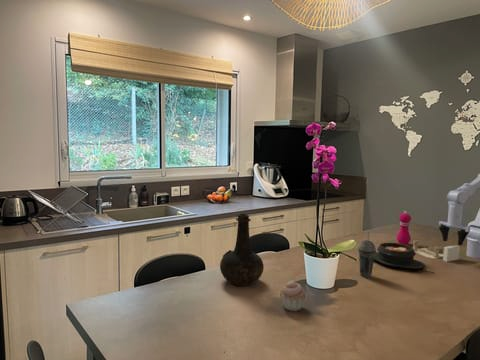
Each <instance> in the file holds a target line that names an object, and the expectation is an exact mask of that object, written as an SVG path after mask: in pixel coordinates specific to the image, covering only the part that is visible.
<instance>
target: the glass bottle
mask: <svg viewBox="0 0 480 360" xmlns="http://www.w3.org/2000/svg"><path fill="white" fill-rule="evenodd" d="M249 217H250V215H249V214H245V213H240V214H237V218H235V220H236V221H237V229H236V240H235V246H234V249H233V250H231V249H230V250H228V251H226V252H225V253H224V254H223V255H222V258H221V260H220V263H219V269H220V270H219V271H220V273H221V275H222V277H223V278H224V279H225V280H226V281H227V282H228V283H229V284H231V285H234V286H238V287H240V286H243V287H246V286H249V285H252V284H255V282H257V281H258V280H259V279H260V278H261V276H262V274H263V273H264V262H263V260H262V258H261V256H260V255H258V254H257V253H256V252H254V251H253V249H252V245H251V239H250V223H249V222H251V221H252V219H251V218H249Z"/></svg>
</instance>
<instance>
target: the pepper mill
mask: <svg viewBox="0 0 480 360" xmlns="http://www.w3.org/2000/svg"><path fill="white" fill-rule="evenodd" d="M398 220H399V226H400V228H399V231H398V233H397V235H396V240H397V242H396V243H399V244H404V245H408V246H410V242H411V240H412V238H411V234H410V232H409V226H410V222H411V220H412V217H411V215H410V214H409V213H408V211H407V210H404V211H403V213H400V215H399V217H398Z"/></svg>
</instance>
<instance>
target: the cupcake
mask: <svg viewBox="0 0 480 360" xmlns="http://www.w3.org/2000/svg"><path fill="white" fill-rule="evenodd" d="M279 296H280V298H281V302H282V306H283V308H284V310H286V309H287V310H286V311H288V310H290V311H289V312H299V311H301V310H302V309H303V306H304V302H305V300H306V298H307V294H306V293H305V288H303V287H302V285H301V284H299V283H297V281H296V280H295V279H292V280H290V281H288V282H287V283H286V284H285V285H284V286H283V287H282V290H281V291H280V292H279ZM298 310H299V311H298Z"/></svg>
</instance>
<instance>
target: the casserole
mask: <svg viewBox="0 0 480 360" xmlns="http://www.w3.org/2000/svg"><path fill="white" fill-rule="evenodd" d="M416 255H417V254H416V253H415V252H414V249H413V246H410V245H409V246H408V245H404V244H399V243H397V242H382V243H380V244H379V246H378V247H377V248H376V252H375V256H374V261H377V262H378V263H381V264H383V265H385V266H388V267H393V268H399V269H401V268H405V269H411V270H412V269H413V270H416V269H417V270H418V269H422V268H423V267H425V264H424V262H422V261H419V260H417V259H415V258H414V257H415V256H416Z"/></svg>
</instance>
